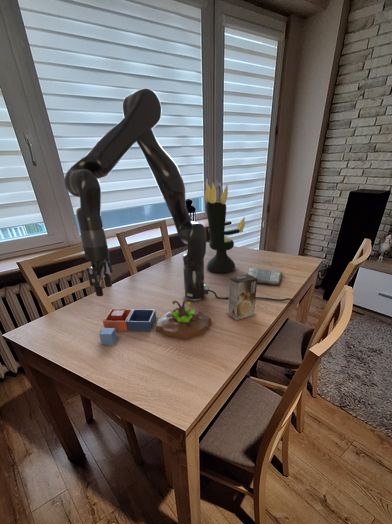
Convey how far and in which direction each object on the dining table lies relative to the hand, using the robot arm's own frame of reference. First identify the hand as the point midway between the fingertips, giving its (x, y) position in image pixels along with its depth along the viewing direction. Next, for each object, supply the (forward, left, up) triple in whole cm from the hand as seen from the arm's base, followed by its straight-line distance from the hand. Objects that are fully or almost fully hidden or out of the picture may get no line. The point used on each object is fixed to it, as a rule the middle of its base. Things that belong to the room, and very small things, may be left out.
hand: (104, 291), depth 97 cm
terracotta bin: (-1, -6, -17) cm, 18 cm away
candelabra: (-41, -72, -17) cm, 84 cm away
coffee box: (-50, -16, -17) cm, 55 cm away
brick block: (-1, -6, -16) cm, 17 cm away
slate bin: (-10, -6, -17) cm, 20 cm away
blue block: (-1, +7, -17) cm, 18 cm away
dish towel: (-65, -59, -17) cm, 89 cm away
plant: (-27, -6, -17) cm, 32 cm away
